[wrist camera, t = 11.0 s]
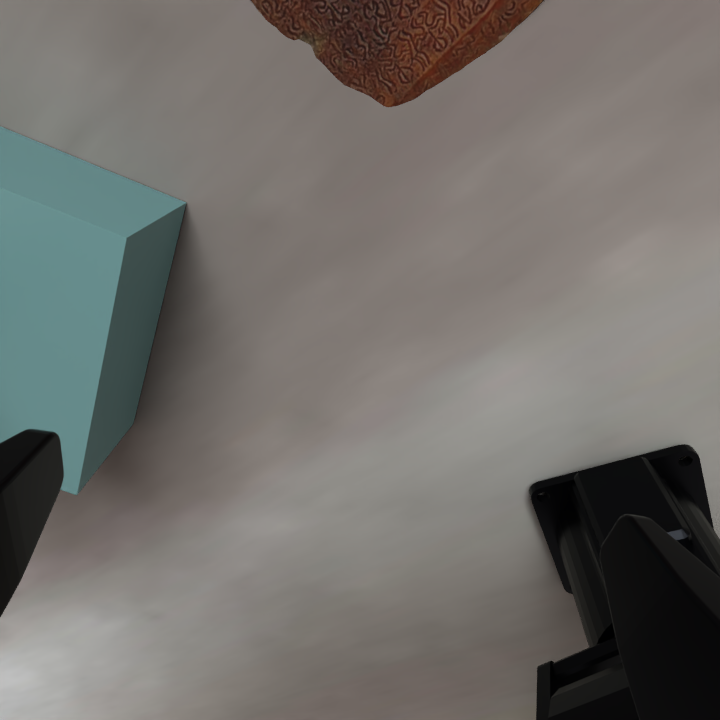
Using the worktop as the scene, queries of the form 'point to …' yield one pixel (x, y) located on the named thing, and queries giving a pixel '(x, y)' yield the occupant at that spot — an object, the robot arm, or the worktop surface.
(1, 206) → the end cap
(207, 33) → the worktop surface
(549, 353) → the worktop surface
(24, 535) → the robot arm
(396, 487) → the worktop surface
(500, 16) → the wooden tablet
